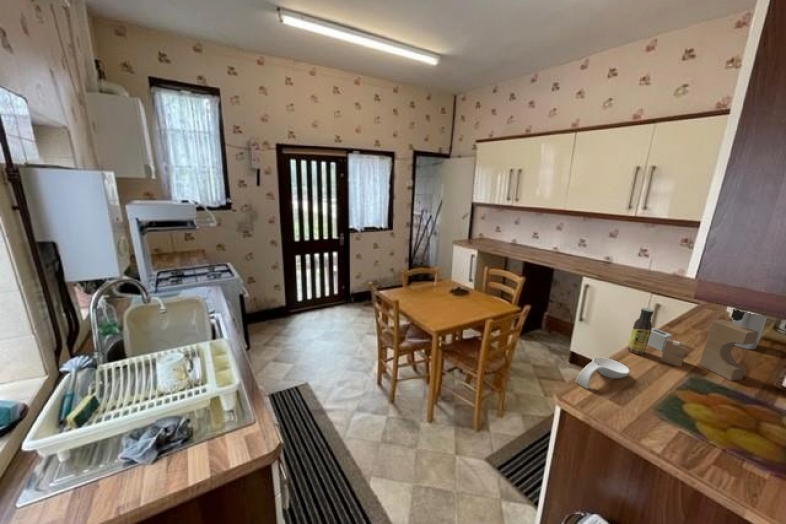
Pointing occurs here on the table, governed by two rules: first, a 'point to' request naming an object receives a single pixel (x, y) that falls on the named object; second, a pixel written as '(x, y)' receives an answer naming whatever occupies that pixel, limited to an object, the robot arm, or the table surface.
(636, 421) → the table surface
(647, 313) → the sauce bottle
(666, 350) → the walnut marked block
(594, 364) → the spoon rest
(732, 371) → the decorative block
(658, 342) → the grey marked block
